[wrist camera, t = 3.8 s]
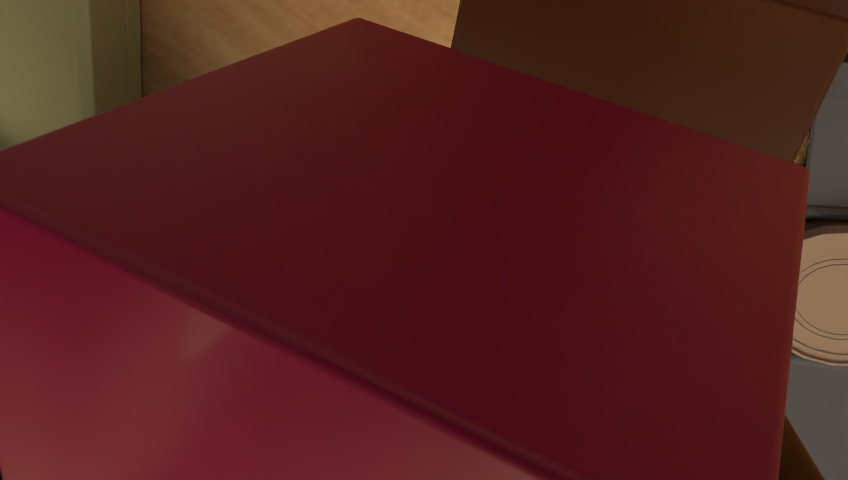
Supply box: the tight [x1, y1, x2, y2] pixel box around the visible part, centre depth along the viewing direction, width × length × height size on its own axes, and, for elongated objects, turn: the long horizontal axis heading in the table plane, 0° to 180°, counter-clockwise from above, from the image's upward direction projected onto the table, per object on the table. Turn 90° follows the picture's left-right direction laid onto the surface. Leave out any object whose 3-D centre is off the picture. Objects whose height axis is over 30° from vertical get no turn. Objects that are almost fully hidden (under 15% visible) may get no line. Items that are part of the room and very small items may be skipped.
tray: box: [0, 0, 142, 150], centre depth 25 cm, size 10×9×2 cm
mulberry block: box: [0, 18, 810, 480], centre depth 7 cm, size 5×5×5 cm
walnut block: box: [451, 0, 848, 163], centre depth 15 cm, size 6×6×6 cm
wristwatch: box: [785, 52, 848, 480], centre depth 18 cm, size 4×20×1 cm, turn 6°
